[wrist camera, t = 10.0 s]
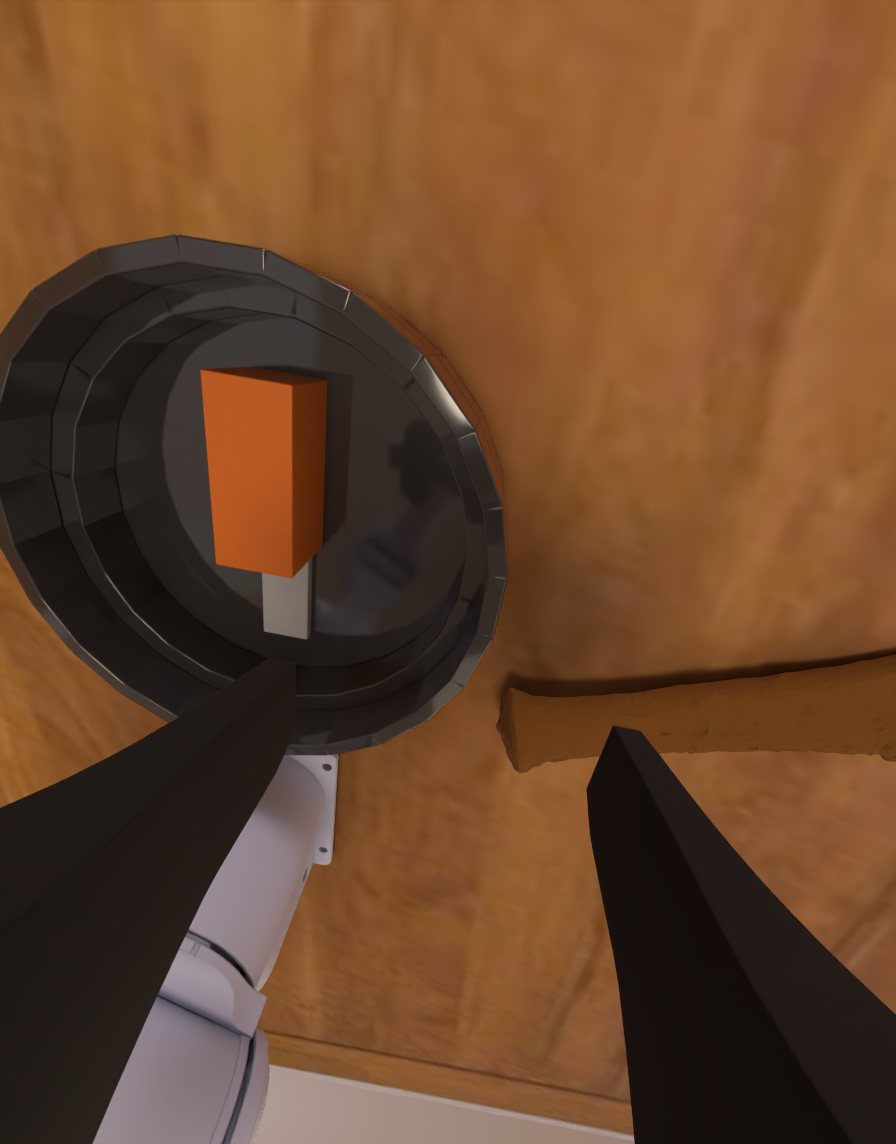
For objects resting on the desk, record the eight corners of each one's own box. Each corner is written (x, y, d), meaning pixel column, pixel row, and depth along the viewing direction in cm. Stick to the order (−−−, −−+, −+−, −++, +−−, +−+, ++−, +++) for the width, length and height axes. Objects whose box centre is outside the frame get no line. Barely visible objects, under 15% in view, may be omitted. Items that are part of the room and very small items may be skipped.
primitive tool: (992, 638, 18) (1096, 701, 15) (952, 744, 20) (1034, 818, 17) (494, 670, 21) (491, 726, 18) (507, 757, 23) (507, 821, 20)
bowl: (466, 713, 22) (457, 793, 18) (128, 646, 23) (47, 708, 19) (554, 313, 15) (573, 297, 11) (48, 230, 16) (-113, 186, 11)
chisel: (250, 366, 16) (199, 368, 13) (328, 379, 16) (292, 385, 13) (260, 624, 21) (223, 664, 18) (320, 635, 21) (292, 677, 18)
